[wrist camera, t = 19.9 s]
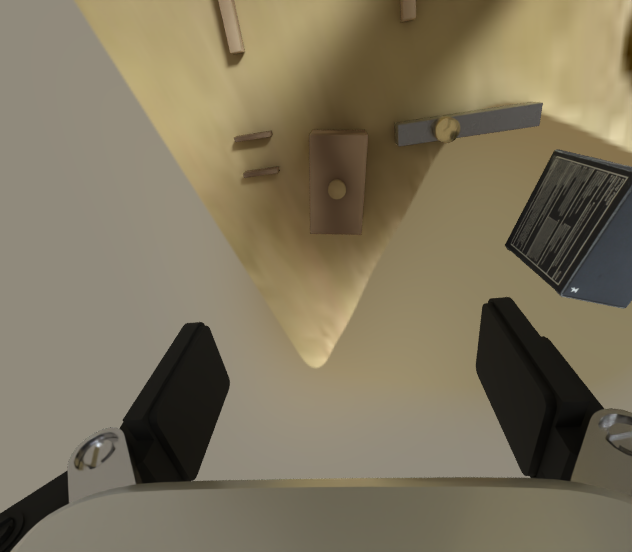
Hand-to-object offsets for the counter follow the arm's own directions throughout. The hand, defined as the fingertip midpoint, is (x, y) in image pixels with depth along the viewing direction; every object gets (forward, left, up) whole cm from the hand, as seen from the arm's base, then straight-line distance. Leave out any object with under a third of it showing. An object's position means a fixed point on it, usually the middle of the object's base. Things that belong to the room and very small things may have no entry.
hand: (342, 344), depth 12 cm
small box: (-22, +6, -26) cm, 35 cm away
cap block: (0, 0, -26) cm, 26 cm away
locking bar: (-12, -3, -26) cm, 29 cm away
